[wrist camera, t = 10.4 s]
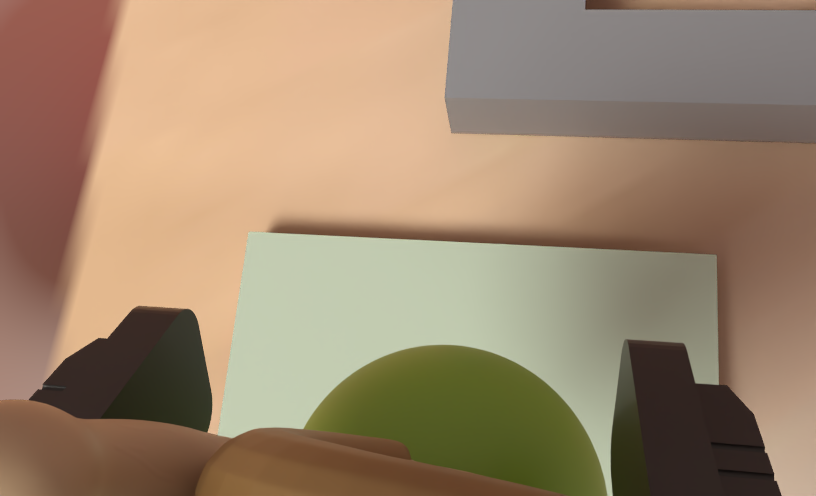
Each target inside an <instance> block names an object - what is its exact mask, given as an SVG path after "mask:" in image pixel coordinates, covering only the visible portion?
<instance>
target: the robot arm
mask: <svg viewBox="0 0 816 496" xmlns="http://www.w3.org/2000/svg"><path fill="white" fill-rule="evenodd" d="M29 400H30V401H36V402H41V403H44V404H48V405H51V406H54V407H56V408H58V409H61V410H63V411H65V412H66V413H68V414H70V415H72V416H73V417H75V418H79V419H133V420H145V421H154V422H162V423H168V424H174V425H179V426H184V427H188V428H192V429H196V430H199V431H202V432H206V433H207V432H208V428H209V425H210V421H211V414H212V393H211V388H210V383H209V377H208V372H207V367H206V362H205V356H204V351H203V346H202V341H201V335H200V330H199V325H198V321H197V318H196V316H195V314H194V313H193V312H192V311H191V310H189V309H178V308H163V307H147V306H138V307H136V308H134V309H133V310H132V311H131V312H130V313H129V314H128V315H127V316H126V317H125V319H124V320H123V321H122V322H121V323H120V324H119V326H118V327H117V328H116V329H115V330H114V331H113V333H112V334H111V335H110V336H109V337H108V339H104V338H98V339H96V340H95V341H93V342H92V343H90V344H88V345H87V346H85V347H84V348H82V349H81V350H79V351H77V352H76V353H74V354H73V355H71V356H69V357H68V358H66V359H65V360H64V361H63V362H62V363H61V364H60V366H59V367H58V368H57V369H56V370H55V371H54V372H53V373H52V374H51V376H50V377H49V378H48V379H47V380H46V381H45V382H44V383H43V388H42V390H39V389H38V390H37V391H36V392H35V393H34V394H33V396H32V397H31V398H30V399H29ZM611 482H612V493H613V496H782V495H781V493H780V490H779V487H778V484H777V481H774V472H773V469H772V466H771V463H770V460H769V457H768V455H767V453H765V446H764V443H763V440H762V437H761V434H760V431H759V428H758V425H757V422H756V419H755V416H754V414H753V413H752V412H751V411H750V410H749V409H748V408H747V407H746V405H745V404H744V403H743V402H742V401H741V400H740V399H739V398H738V397H737V396H736V395H735V394H734V393H733V392H732V390H731V389H730V388H729V387H728V386H727V385H714V384H700V383H695V380H694V376H693V372H692V368H691V364H690V360H689V356H688V352H687V349H686V346H685V344H684V343H676V342H661V341H646V340H631V339H625V340H624V343H623V347H622V353H621V361H620V369H619V377H618V385H617V393H616V401H615V409H614V417H613V425H612V435H611Z"/></svg>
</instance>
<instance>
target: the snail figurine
mask: <svg viewBox="0 0 816 496" xmlns="http://www.w3.org/2000/svg"><path fill="white" fill-rule="evenodd" d="M0 496H607V489H606V484H605V479H604V475H603V472H602V468H601V465H600V462H599V459H598V456H597V454H596V451H595V449H594V446H593V444H592V442H591V440H590V438H589V436H588V434H587V432H586V430H585V429H584V427H583V425H582V424H581V422H580V421H579V419H578V418H577V416H576V415H575V413H574V412H573V411H572V409H571V408H570V407H569V406H568V404H567V403H566V402H565V401H564V400H563V399H562V398H561V397H560V396H559V394H558V393H557V392H555V391H554V390H553V389H552V388H551V387H550V386H549V385H548V384H547V383H546V382H544V381H543V380H542V379H541V378H539V377H538V376H536V375H535V374H534V373H532V372H531V371H529V370H528V369H526V368H524V367H523V366H521V365H519V364H517V363H515V362H513V361H511V360H509V359H507V358H505V357H502V356H500V355H497V354H494V353H492V352H488V351H485V350H481V349H477V348H472V347H466V346H459V345H427V346H419V347H413V348H408V349H404V350H400V351H397V352H394V353H391V354H388V355H386V356H383V357H381V358H379V359H376V360H374V361H372V362H370V363H369V364H367V365H365V366H363V367H362V368H360V369H358V370H357V371H355V372H354V373H352V374H351V375H350V376H348V377H347V378H346V379H344V380H343V381H342V382H341V383H340V384H339V385H337V386H336V387H335V388H334V389H333V390H332V391H331V392H330V393H329V394H328V395H327V396H326V397H325V399H324V400H323V401H322V402H321V403H320V404H319V406H318V407H317V408H316V410H315V411H314V412H313V414H312V415H311V417H310V418H309V420H308V421H307V423H306V425H305V426H304V428H303V429H295V428H279V427H274V428H258V429H253V430H250V431H247V432H245V433H242V434H240V435H238V436H236V437H234V438H229V437H224V436H219V435H215V434H210V433H206V432H202V431H199V430H196V429H192V428H188V427H184V426H179V425H174V424H168V423H162V422H154V421H145V420H133V419H79V418H75V417H73V416H72V415H70V414H68V413H66V412H65V411H63V410H61V409H58V408H56V407H54V406H51V405H48V404H44V403H41V402H36V401H30V400H0Z"/></svg>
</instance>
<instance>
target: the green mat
mask: <svg viewBox="0 0 816 496" xmlns="http://www.w3.org/2000/svg"><path fill="white" fill-rule="evenodd" d="M625 339H631V340H646V341H661V342H676V343H684V344H685V346H686V349H687V352H688V356H689V360H690V364H691V368H692V372H693V376H694V380H695V383H700V384H714V385H719V362H718V302H717V255H714V254H693V253H673V252H652V251H632V250H612V249H591V248H571V247H551V246H530V245H510V244H489V243H469V242H449V241H428V240H408V239H388V238H367V237H347V236H326V235H306V234H286V233H265V232H249V233H248V240H247V246H246V253H245V259H244V266H243V272H242V279H241V285H240V292H239V299H238V305H237V312H236V318H235V325H234V331H233V338H232V344H231V351H230V358H229V364H228V371H227V377H226V384H225V390H224V397H223V403H222V410H221V417H220V423H219V430H218V435H219V436H224V437H229V438H234V437H236V436H238V435H240V434H242V433H245V432H247V431H250V430H253V429H258V428H274V427H279V428H295V429H303V428H304V426H305V425H306V423H307V421H308V420H309V418H310V417H311V415H312V414H313V412H314V411H315V410H316V408H317V407H318V406H319V404H320V403H321V402H322V401H323V400H324V399H325V397H326V396H327V395H328V394H329V393H330V392H331V391H332V390H333V389H334V388H335V387H336V386H337V385H339V384H340V383H341V382H342V381H343V380H344V379H346V378H347V377H348V376H350V375H351V374H352V373H354V372H355V371H357V370H358V369H360V368H362V367H363V366H365V365H367V364H369V363H370V362H372V361H374V360H376V359H379V358H381V357H383V356H386V355H388V354H391V353H394V352H397V351H400V350H404V349H408V348H413V347H419V346H427V345H459V346H466V347H472V348H477V349H481V350H485V351H488V352H492V353H494V354H497V355H500V356H502V357H505V358H507V359H509V360H511V361H513V362H515V363H517V364H519V365H521V366H523V367H524V368H526V369H528V370H529V371H531V372H532V373H534V374H535V375H536V376H538V377H539V378H541V379H542V380H543V381H544V382H546V383H547V384H548V385H549V386H550V387H551V388H552V389H553V390H554V391H555V392H557V393H558V394H559V396H560V397H561V398H562V399H563V400H564V401H565V402H566V403H567V404H568V406H569V407H570V408H571V409H572V411H573V412H574V413H575V415H576V416H577V418H578V419H579V421H580V422H581V424H582V425H583V427H584V429H585V430H586V432H587V434H588V436H589V438H590V440H591V442H592V444H593V446H594V449H595V451H596V454H597V456H598V459H599V462H600V465H601V468H602V472H603V475H604V479H605V484H606V489H607V496H613V493H612V482H611V435H612V425H613V417H614V409H615V401H616V393H617V385H618V377H619V369H620V361H621V353H622V347H623V343H624V340H625Z"/></svg>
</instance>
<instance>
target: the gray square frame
mask: <svg viewBox="0 0 816 496" xmlns="http://www.w3.org/2000/svg"><path fill="white" fill-rule="evenodd" d="M585 1H586V0H453V6H452V18H451V29H450V41H449V53H448V64H447V76H446V88H445V102H446V107H447V113H448V118H449V123H450V128H451V133H471V134H507V135H544V136H580V137H616V138H653V139H689V140H726V141H762V142H798V143H816V10H585Z"/></svg>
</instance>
